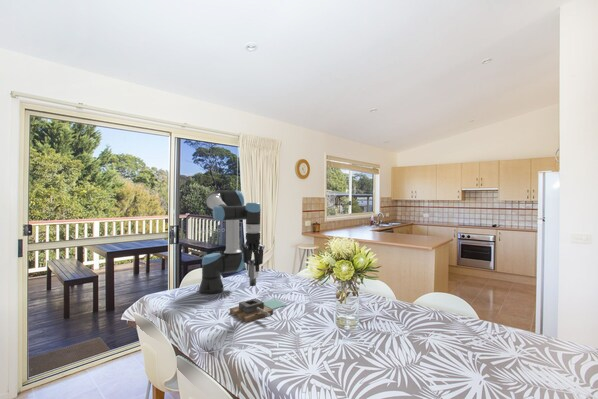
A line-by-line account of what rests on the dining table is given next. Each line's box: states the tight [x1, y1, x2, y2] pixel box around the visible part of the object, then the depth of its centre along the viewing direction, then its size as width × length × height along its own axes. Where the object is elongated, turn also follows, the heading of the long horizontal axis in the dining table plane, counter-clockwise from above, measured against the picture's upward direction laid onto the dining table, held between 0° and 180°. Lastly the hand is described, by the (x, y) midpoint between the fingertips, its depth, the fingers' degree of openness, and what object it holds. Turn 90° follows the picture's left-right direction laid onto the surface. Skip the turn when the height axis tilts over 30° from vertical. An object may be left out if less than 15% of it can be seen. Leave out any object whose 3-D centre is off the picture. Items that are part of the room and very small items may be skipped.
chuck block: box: [229, 297, 274, 323], centre depth 151 cm, size 24×16×6 cm, turn 40°
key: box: [248, 258, 257, 287], centre depth 154 cm, size 6×3×13 cm, turn 150°
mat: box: [263, 298, 287, 311], centre depth 166 cm, size 12×10×1 cm
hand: (252, 277), depth 154 cm, fingers closed on key, 3 cm apart
